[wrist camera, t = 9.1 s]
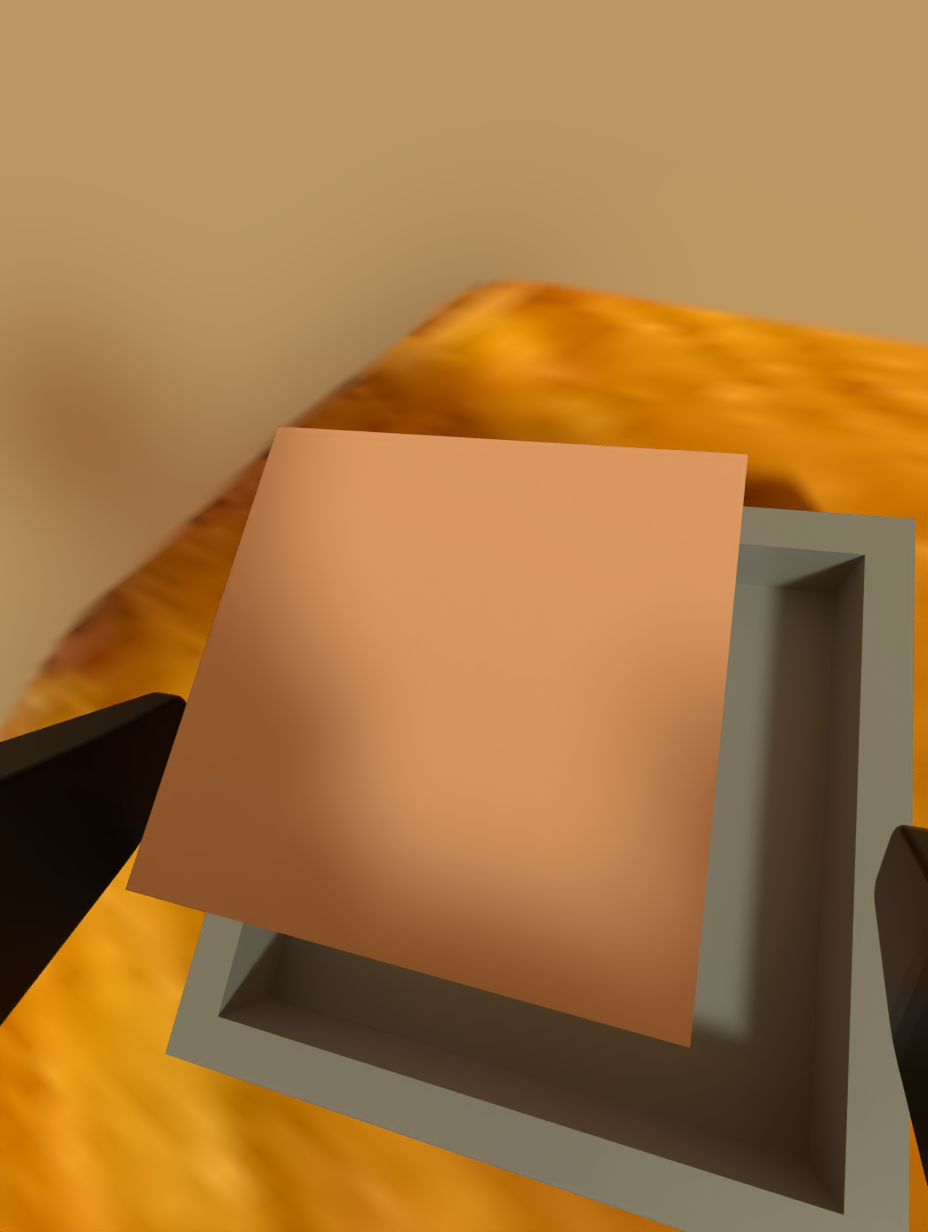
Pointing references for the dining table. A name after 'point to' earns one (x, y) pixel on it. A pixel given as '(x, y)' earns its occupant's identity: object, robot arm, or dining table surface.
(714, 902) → the tote
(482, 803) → the carton
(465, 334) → the dining table surface
